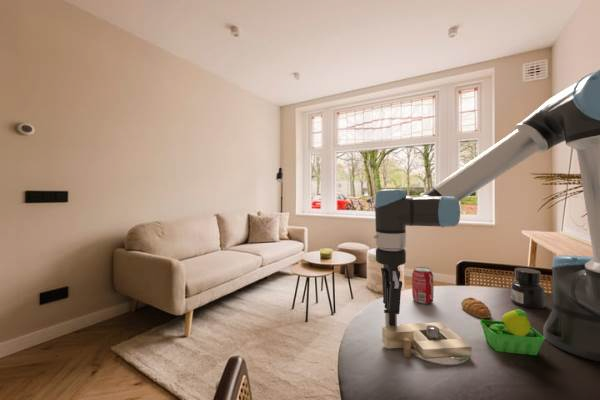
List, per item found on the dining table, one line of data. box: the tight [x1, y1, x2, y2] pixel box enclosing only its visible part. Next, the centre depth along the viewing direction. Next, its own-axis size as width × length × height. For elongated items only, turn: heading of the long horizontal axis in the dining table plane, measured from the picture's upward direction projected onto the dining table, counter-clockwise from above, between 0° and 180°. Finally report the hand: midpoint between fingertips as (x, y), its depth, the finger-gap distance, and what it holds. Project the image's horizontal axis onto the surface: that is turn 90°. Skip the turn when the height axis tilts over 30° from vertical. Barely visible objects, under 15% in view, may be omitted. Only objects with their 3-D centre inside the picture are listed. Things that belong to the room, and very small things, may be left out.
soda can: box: [411, 266, 435, 305], centre depth 96 cm, size 7×7×12 cm
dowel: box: [403, 338, 412, 359], centre depth 64 cm, size 2×2×4 cm
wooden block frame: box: [381, 321, 472, 358], centre depth 68 cm, size 19×12×4 cm, turn 94°
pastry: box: [460, 297, 492, 320], centre depth 86 cm, size 9×7×4 cm
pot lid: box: [411, 325, 470, 367], centre depth 68 cm, size 16×16×5 cm
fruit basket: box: [479, 308, 546, 356], centre depth 66 cm, size 11×9×11 cm
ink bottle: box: [510, 267, 546, 310], centre depth 92 cm, size 10×9×12 cm
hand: (391, 334), depth 70 cm, fingers closed
